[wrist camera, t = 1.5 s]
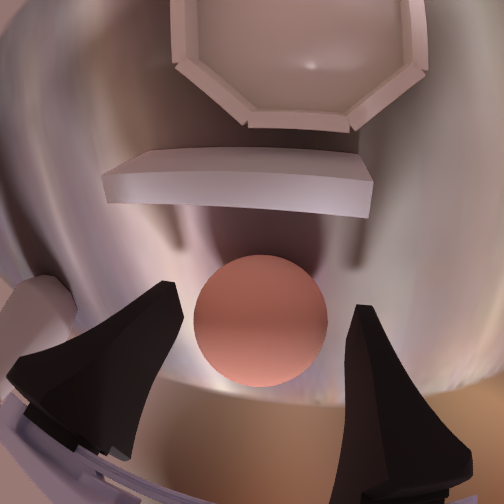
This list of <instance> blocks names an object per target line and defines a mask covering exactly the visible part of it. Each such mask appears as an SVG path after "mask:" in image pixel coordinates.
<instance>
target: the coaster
mask: <svg viewBox="0 0 504 504" xmlns="http://www.w3.org/2000/svg"><path fill="white" fill-rule="evenodd" d="M170 23H171V50H172V63H175V64H177V65H176V67H175V69H177V70H178V71H179V72H180V73H182V74H183V75H184V76H185V77H187V78H188V79H189V80H190V81H191V82H193V83H194V84H195V85H196V86H198V87H199V88H200V89H201V90H202V91H203V92H205V93H206V94H207V95H208V96H209V97H211V98H212V99H213V100H214V101H215V102H216V103H217V104H219V105H220V106H221V107H222V108H223V109H224V110H225V111H227V112H228V113H229V114H230V115H231V116H232V117H233V118H234V119H235V120H237V121H238V122H239V123H240V124H241V125H242V126H243V125H245V124H247V123H248V128H285V129H306V130H321V131H333V132H343V133H349V129H350V126H351V127H352V128H353V129H354V130H355V131H357V130H358V129H359V128H360V127H361V126H363V125H364V124H365V123H366V122H368V121H369V120H370V119H371V118H373V117H374V116H375V115H376V114H378V113H379V112H380V111H381V110H383V109H384V108H385V107H386V106H388V105H389V104H390V103H391V102H393V101H394V100H395V99H396V98H398V97H399V96H400V95H402V94H403V93H404V92H405V91H407V90H408V89H409V88H410V87H412V86H413V85H414V84H416V83H417V82H418V81H420V80H421V79H422V78H423V77H425V76H426V75H425V74H424V72H423V71H428V40H427V25H426V14H425V5H424V0H170Z"/></svg>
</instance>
